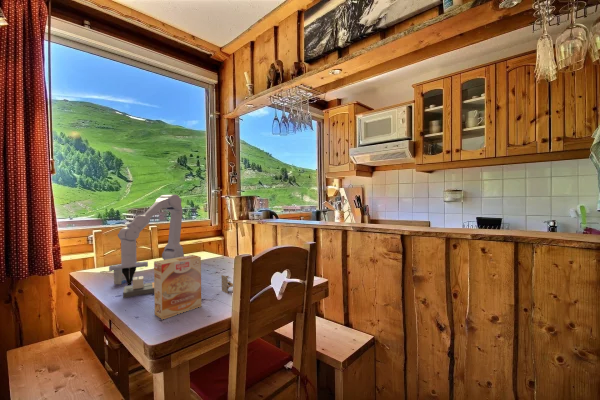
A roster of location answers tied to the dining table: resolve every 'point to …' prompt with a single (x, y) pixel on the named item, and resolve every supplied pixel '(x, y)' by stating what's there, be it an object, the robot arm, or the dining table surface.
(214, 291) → the dining table surface
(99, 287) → the dining table surface
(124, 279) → the medicine box
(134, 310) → the dining table surface
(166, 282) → the coffeecake box
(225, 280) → the architectural model
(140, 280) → the fader knob
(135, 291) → the fader panel
